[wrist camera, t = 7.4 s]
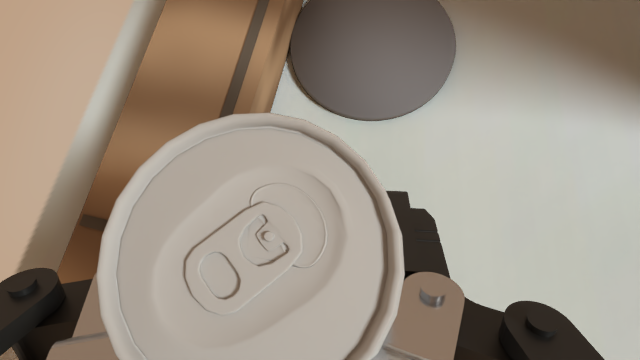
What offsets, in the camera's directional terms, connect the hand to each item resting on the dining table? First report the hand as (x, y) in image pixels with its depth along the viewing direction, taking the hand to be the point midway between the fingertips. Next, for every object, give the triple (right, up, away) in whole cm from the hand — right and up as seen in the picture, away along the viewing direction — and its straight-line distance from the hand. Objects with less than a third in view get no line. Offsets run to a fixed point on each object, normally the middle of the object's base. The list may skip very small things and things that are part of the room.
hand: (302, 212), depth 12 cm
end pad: (+3, +9, +10) cm, 13 cm away
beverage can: (0, -3, +5) cm, 6 cm away
